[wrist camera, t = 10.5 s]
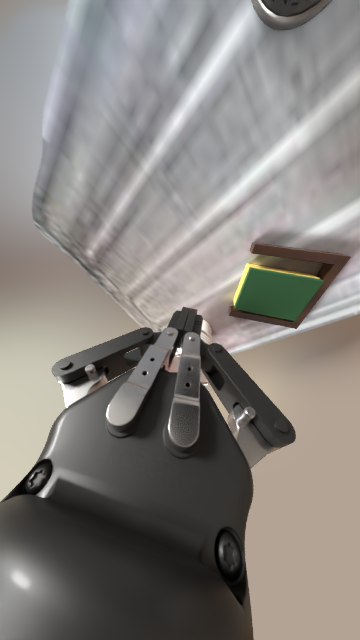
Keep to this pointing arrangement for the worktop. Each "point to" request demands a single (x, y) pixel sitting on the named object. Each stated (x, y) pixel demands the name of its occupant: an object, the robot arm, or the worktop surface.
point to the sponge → (275, 291)
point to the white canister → (206, 337)
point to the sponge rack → (326, 273)
